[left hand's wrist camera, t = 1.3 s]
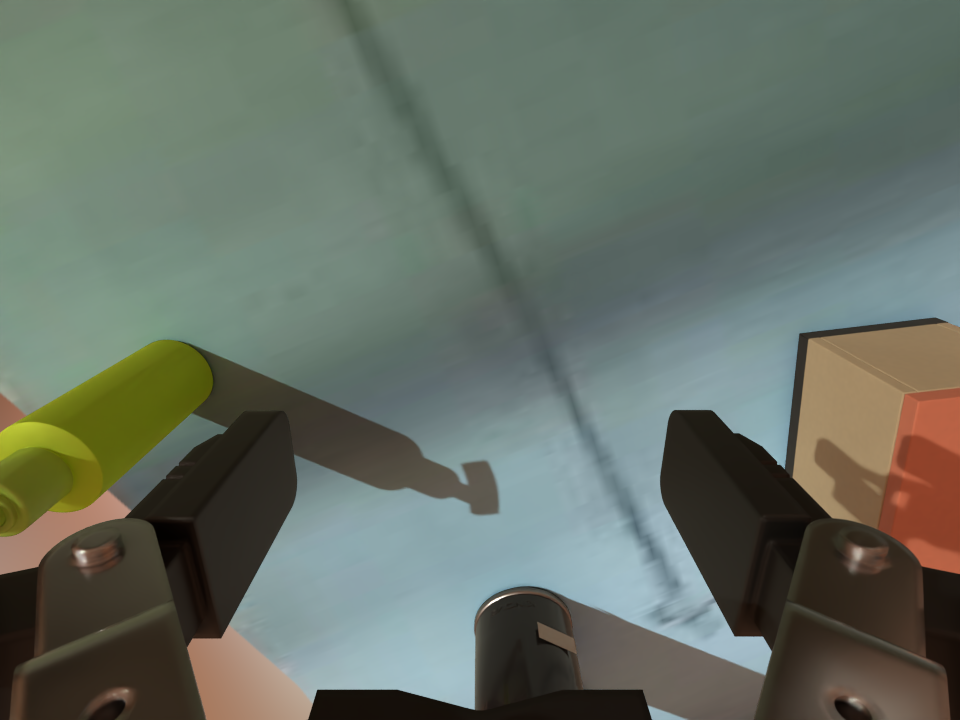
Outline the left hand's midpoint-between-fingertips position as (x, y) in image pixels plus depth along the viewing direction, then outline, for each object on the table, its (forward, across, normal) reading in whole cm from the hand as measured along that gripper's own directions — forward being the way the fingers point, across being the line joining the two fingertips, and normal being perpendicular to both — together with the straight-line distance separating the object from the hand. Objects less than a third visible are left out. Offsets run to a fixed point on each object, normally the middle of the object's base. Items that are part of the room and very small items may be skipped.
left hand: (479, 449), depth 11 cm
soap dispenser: (+28, -24, -10) cm, 38 cm away
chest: (+29, +30, -14) cm, 44 cm away
